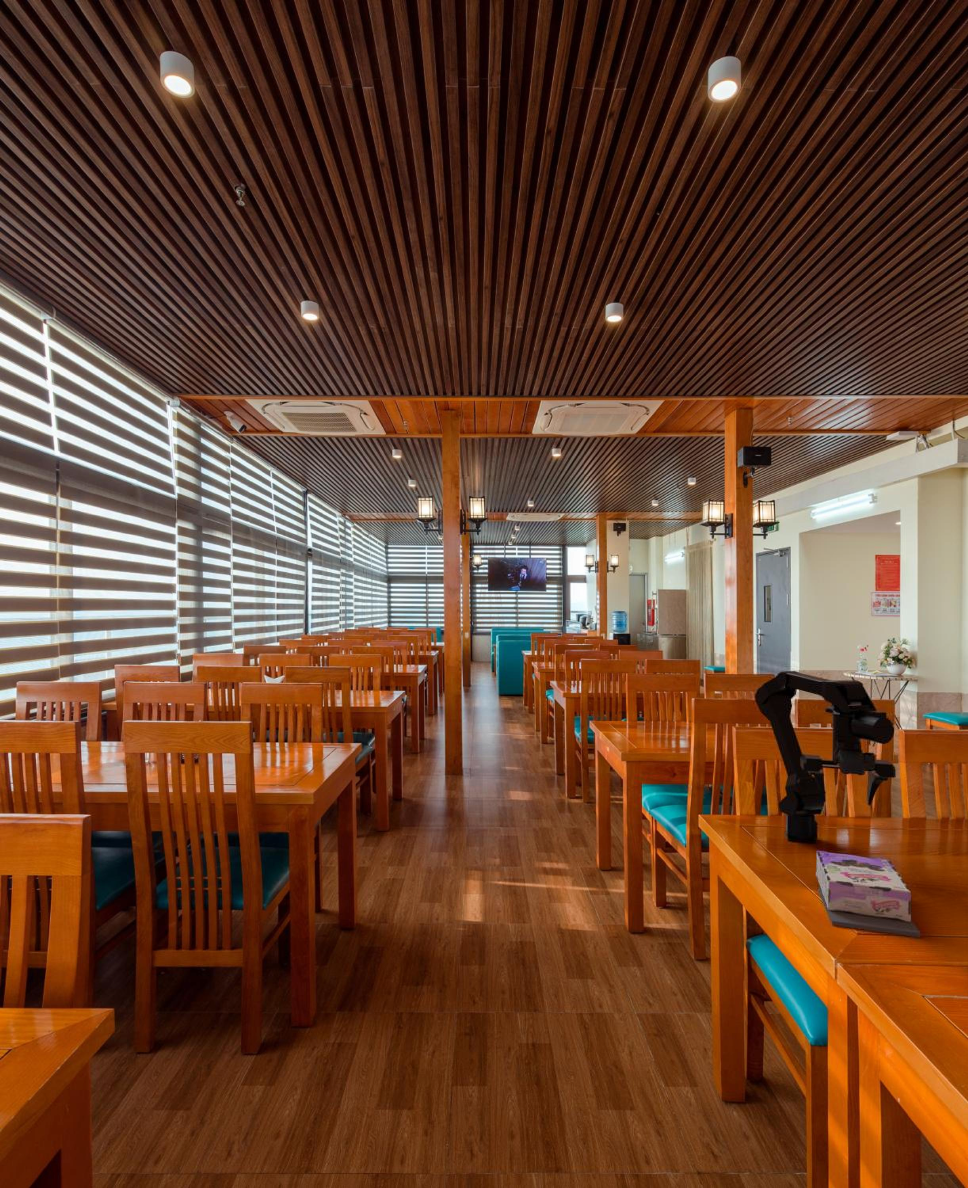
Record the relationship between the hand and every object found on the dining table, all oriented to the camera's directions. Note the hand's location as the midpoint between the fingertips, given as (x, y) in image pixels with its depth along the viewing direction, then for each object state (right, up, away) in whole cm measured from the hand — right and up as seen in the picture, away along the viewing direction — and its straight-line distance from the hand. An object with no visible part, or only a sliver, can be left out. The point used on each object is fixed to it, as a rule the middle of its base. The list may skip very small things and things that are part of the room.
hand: (846, 803), depth 154 cm
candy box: (-7, -9, -14) cm, 18 cm away
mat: (-11, -13, -27) cm, 31 cm away
